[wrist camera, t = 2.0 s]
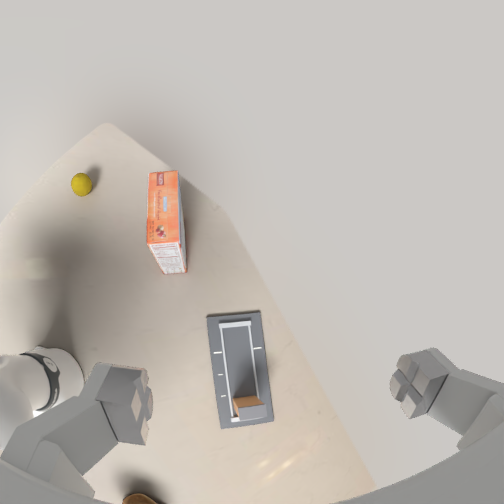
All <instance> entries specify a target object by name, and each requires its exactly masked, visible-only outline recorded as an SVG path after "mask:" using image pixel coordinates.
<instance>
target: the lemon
mask: <svg viewBox="0 0 504 504" xmlns="http://www.w3.org/2000/svg"><path fill="white" fill-rule="evenodd" d="M71 186H72V189H73V191H74V193H75V194H76V195H78V196H86V195H87V194H89V192H90V191H91V188H92V183H91V180H90V178H89V177H88V176H87V175H86V174H84V173H78V174H76V175H75V176H74V177H73V178H72V181H71Z"/></svg>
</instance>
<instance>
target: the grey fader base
mask: <svg viewBox="0 0 504 504" xmlns="http://www.w3.org/2000/svg"><path fill="white" fill-rule="evenodd" d="M207 327H208V336H209V345H210V354H211V362H212V370H213V378H214V386H215V393H216V400H217V407H218V413H219V420H220V426H221V429H226V428H234V427H242V426H248V425H255V424H261V423H267V422H272V421H274V419H273V411H272V403H271V395H270V387H269V380H268V372H267V364H266V356H265V348H264V340H263V332H262V324H261V317H260V312H259V313H250V314H240V315H229V316H217V317H207ZM254 395H255V396H256V397H257V398H258V399H259V400H261V401H262V402H263V403H264V404H266V410H267V417H262V418H256V419H250V420H243V421H240V420H239V417H238V415H237V413H236V411H235V409H234V405H233V398H239V397H247V396H254Z"/></svg>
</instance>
